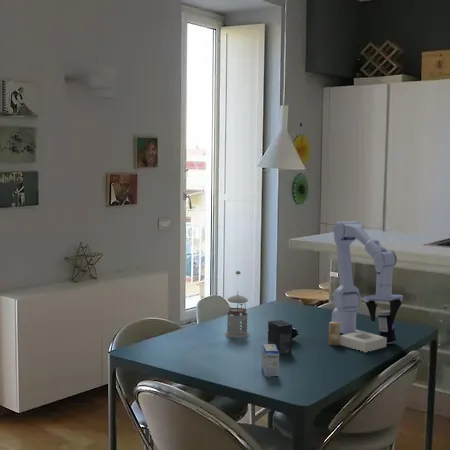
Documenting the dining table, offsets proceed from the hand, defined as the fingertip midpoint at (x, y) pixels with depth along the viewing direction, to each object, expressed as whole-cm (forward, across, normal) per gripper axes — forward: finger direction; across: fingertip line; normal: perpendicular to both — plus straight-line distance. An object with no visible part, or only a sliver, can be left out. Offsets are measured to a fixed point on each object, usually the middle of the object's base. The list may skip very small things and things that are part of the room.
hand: (382, 320), depth 257 cm
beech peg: (+10, -16, +6) cm, 20 cm away
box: (+10, -39, +1) cm, 40 cm away
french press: (+10, -48, +27) cm, 56 cm away
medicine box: (+10, -49, -22) cm, 55 cm away
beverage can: (+10, +4, +3) cm, 11 cm away
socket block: (+10, -6, +2) cm, 12 cm away
